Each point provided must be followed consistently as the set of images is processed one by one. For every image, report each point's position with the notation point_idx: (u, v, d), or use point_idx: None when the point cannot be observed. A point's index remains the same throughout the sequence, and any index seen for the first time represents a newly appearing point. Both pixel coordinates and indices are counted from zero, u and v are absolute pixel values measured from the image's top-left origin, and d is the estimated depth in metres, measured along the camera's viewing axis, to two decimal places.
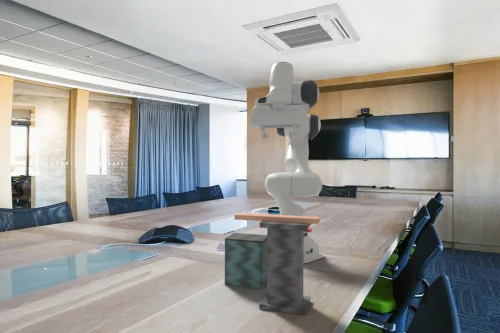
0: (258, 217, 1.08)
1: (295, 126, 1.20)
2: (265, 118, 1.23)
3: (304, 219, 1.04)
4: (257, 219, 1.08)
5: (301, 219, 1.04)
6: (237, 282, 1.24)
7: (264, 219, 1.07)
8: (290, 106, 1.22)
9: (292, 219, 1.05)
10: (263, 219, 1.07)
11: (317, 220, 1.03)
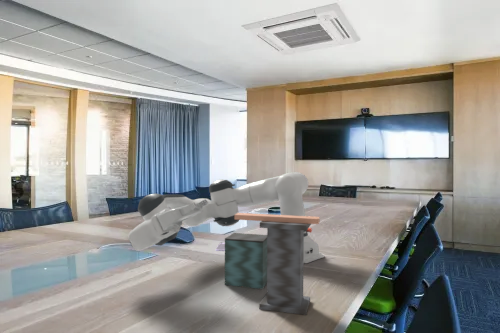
0: (258, 217, 1.08)
1: (198, 203, 1.22)
2: None
3: (304, 219, 1.04)
4: (257, 219, 1.08)
5: (301, 219, 1.04)
6: (237, 282, 1.24)
7: (264, 219, 1.07)
8: None
9: (292, 219, 1.05)
10: (263, 219, 1.07)
11: (317, 220, 1.03)
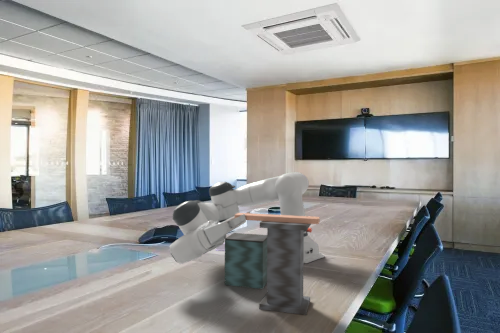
0: (258, 217, 1.08)
1: None
2: None
3: (304, 219, 1.04)
4: (257, 219, 1.08)
5: (301, 219, 1.04)
6: (237, 282, 1.24)
7: (264, 219, 1.07)
8: None
9: (292, 219, 1.05)
10: (263, 219, 1.07)
11: (317, 220, 1.03)
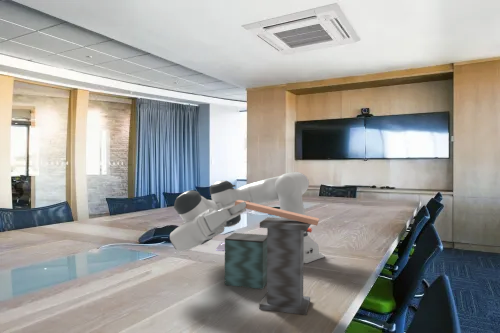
0: (258, 208, 1.08)
1: None
2: None
3: (304, 218, 1.04)
4: (257, 210, 1.08)
5: (300, 217, 1.04)
6: (237, 282, 1.24)
7: (264, 211, 1.07)
8: None
9: (292, 216, 1.05)
10: (262, 211, 1.07)
11: (316, 221, 1.03)
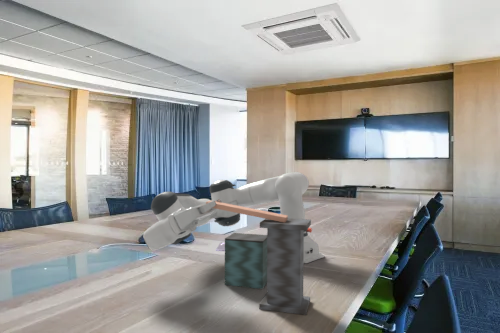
0: (228, 207, 1.10)
1: None
2: None
3: (272, 216, 1.06)
4: (227, 209, 1.10)
5: (269, 215, 1.06)
6: (237, 282, 1.24)
7: (234, 210, 1.09)
8: None
9: (260, 214, 1.07)
10: (232, 210, 1.09)
11: (284, 218, 1.05)
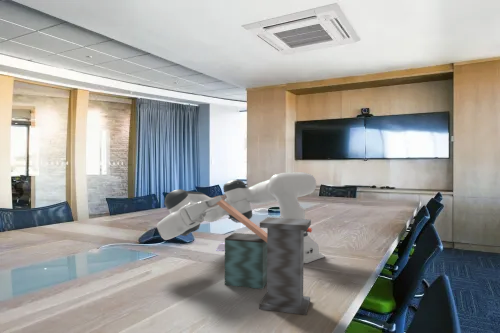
0: (230, 210, 1.26)
1: None
2: None
3: (261, 234, 1.22)
4: (228, 211, 1.26)
5: (259, 232, 1.22)
6: (237, 282, 1.24)
7: (233, 215, 1.25)
8: None
9: (253, 228, 1.23)
10: (232, 214, 1.25)
11: None
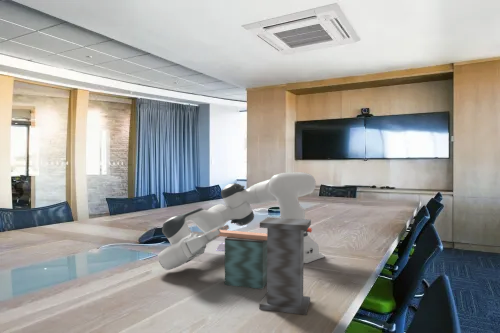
0: (231, 234, 1.27)
1: (219, 228, 1.37)
2: None
3: None
4: (230, 236, 1.27)
5: (265, 237, 1.22)
6: (237, 282, 1.24)
7: (236, 236, 1.26)
8: None
9: (258, 237, 1.23)
10: (235, 236, 1.26)
11: None
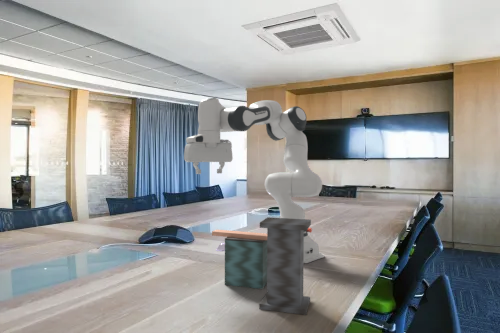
0: (231, 234, 1.27)
1: (223, 163, 1.42)
2: (200, 156, 1.35)
3: None
4: (230, 236, 1.27)
5: (265, 237, 1.22)
6: (237, 282, 1.24)
7: (236, 236, 1.26)
8: (220, 145, 1.40)
9: (258, 237, 1.23)
10: (235, 236, 1.26)
11: None
